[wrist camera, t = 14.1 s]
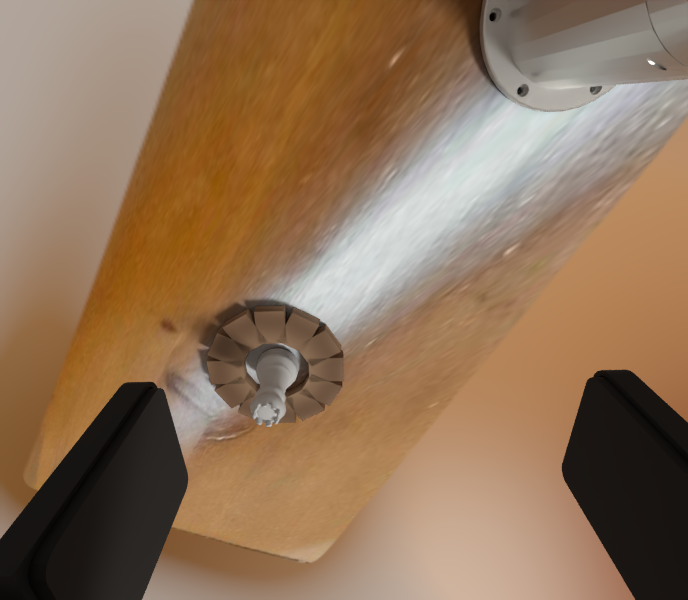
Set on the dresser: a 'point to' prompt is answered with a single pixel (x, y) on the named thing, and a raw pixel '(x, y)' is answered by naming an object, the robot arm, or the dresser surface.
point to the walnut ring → (293, 332)
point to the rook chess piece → (273, 385)
